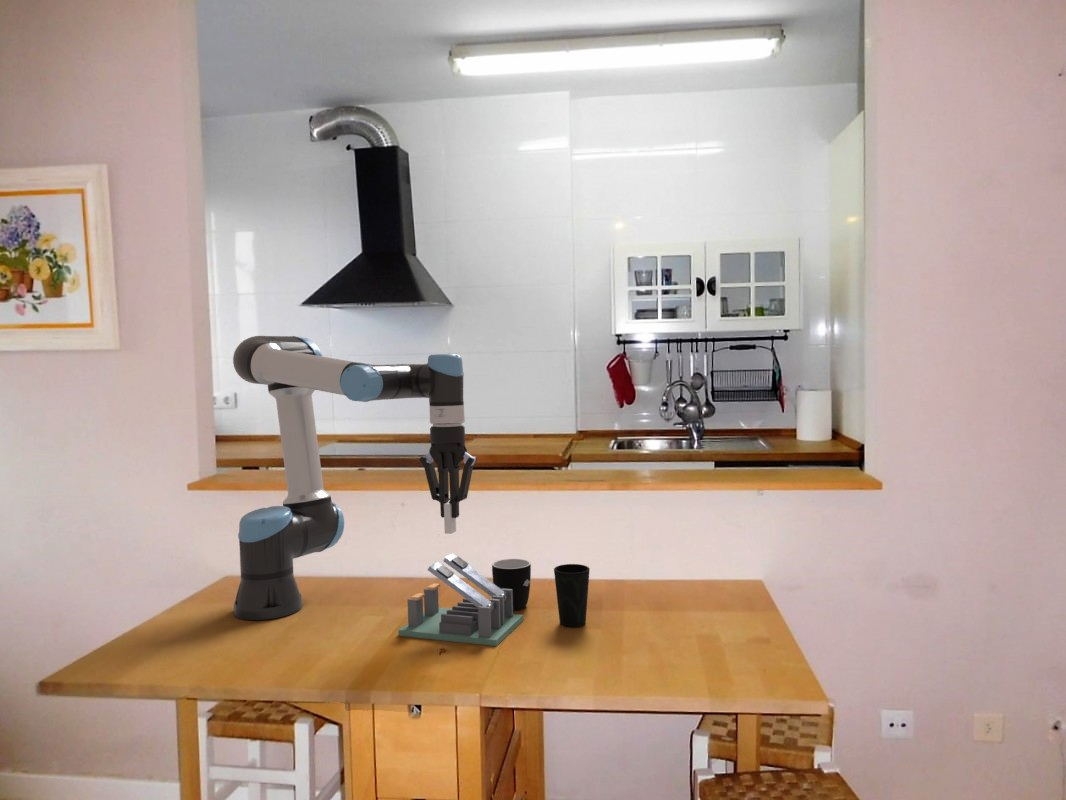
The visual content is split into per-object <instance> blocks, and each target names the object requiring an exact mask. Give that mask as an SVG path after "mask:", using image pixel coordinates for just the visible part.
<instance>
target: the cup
mask: <svg viewBox="0 0 1066 800" xmlns="http://www.w3.org/2000/svg"><path fill="white" fill-rule="evenodd" d="M590 569H591V568H589V566H587V565H585V564H584V565H583V564H577V563H567V564H566V563H565V564H560V565H557V566H555V567H554V568H553V572H554V582H555V583H554V584H555V590H556V600H557V608H558V610H557V611H558V619H559V625H561V627H565V628H568V629H569V628H571V629H574V628H581V627H584V626H585V625H586V624H587V623H586V622H587V611H588V595H589V582H590Z"/></svg>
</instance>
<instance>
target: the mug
mask: <svg viewBox="0 0 1066 800" xmlns="http://www.w3.org/2000/svg"><path fill="white" fill-rule="evenodd" d="M531 566H532V564H531V562H530V561H529V560H527V559H523V558H522V559H521V558H504V559H499V560H496V561H493V563H492V564H491V568H492V569H491V572H492V576H491V577H492V583H493V584H495V585H496V586H497V587H499V588H500V589H513V612H515V611H520V610H523V609H525V608H526V607H527V605H528V602H529V597H530V590H531V577H532V576H531V572H532V567H531Z"/></svg>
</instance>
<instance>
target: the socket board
mask: <svg viewBox="0 0 1066 800" xmlns="http://www.w3.org/2000/svg"><path fill="white" fill-rule="evenodd" d="M439 588H441V583H432V584H430V585H429V586H426V587H425V588H424V589H423V592H422V593H421V592H418V593H416V594H414V595H412V596H410V597H409V598H407V624H405V625H404V626H402V627H401V628H399V629H397V631H398V632H397V633H398V636H399V637H405V638H406V637H407V638H415V639H416V638H417V639H428V640H435V641H446V642H455V643H464V644H475V645H484V646H493V647H497V646H498V645H500V643H501V642H502V641H504V640H505V639H506V638H507V637H508V636H509V635H510V634H511V633H512V632H513V631H514V630H515V629H516V628H517V627H518V626H520V624H521V623H522V622H523V621H524V614H515V613H514V611H513V589H502V590H503V591H506V592H508V594H509V597H508V598H507V599H506V600H505V601H504V596H495V595H493V596H492V597H491V598H487V599H488V600H490V601H491V602H495V604H496V608H495V609H494V610H493V611H491V607H485V606H479V607H476V606H475V605H474V604H472V603H471V602H470V601H468V600H467V599H466V598H464V597H463V599H462V601H458V602H457V605H453V606H452V607H451V608H450V607H439Z"/></svg>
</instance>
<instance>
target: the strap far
mask: <svg viewBox="0 0 1066 800" xmlns="http://www.w3.org/2000/svg"><path fill="white" fill-rule="evenodd" d="M443 563H445V564H447V565H448V566H449V567H451V568H452V569H453V570H455V571H456V572H457V573H458V574H460V575H461V576H463V577H464V578H465V579H467V580H468V581H470V582H471V583H472V584H474V585H475V587H478V589H481V591H483V592H484V593H486V594H487V595H488V596H490V597H491V598H492V596H493V595H495V596H504V601H505V600H506V599H507V598H508V597H509V594H508V592H506V591H503V590H502V589H500V588H499V587H497V586H496V585H495V584H493V581H491V580H489V579H488V578H487V577H485V576H484V575H482V574H481V573H479V571H477V570H475V569H474V568H473V567H471V566H470V565H469V563H468V562H467V561H465V560H464V559H463V558H461V557H460V556H459V555H458V556H457V555H455V554H454V553H450V554H449V555H446V556H444V559H443Z"/></svg>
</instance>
